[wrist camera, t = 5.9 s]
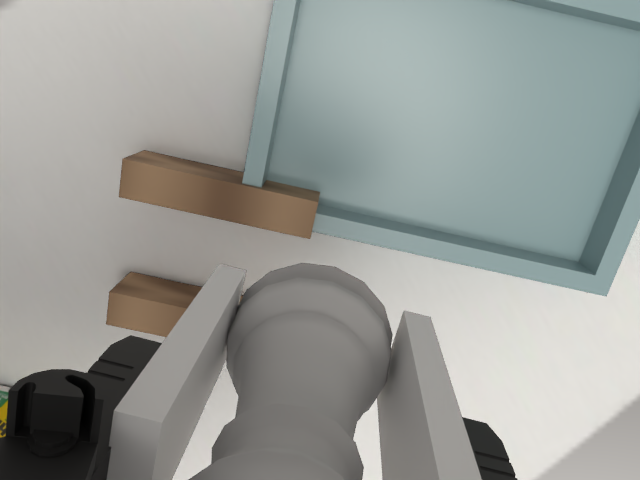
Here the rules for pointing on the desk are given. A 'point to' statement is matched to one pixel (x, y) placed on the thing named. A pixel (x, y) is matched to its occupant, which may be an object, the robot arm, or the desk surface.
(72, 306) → the desk surface
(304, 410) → the rook chess piece
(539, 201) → the tray
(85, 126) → the desk surface
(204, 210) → the slot rails
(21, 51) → the desk surface
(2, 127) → the desk surface
